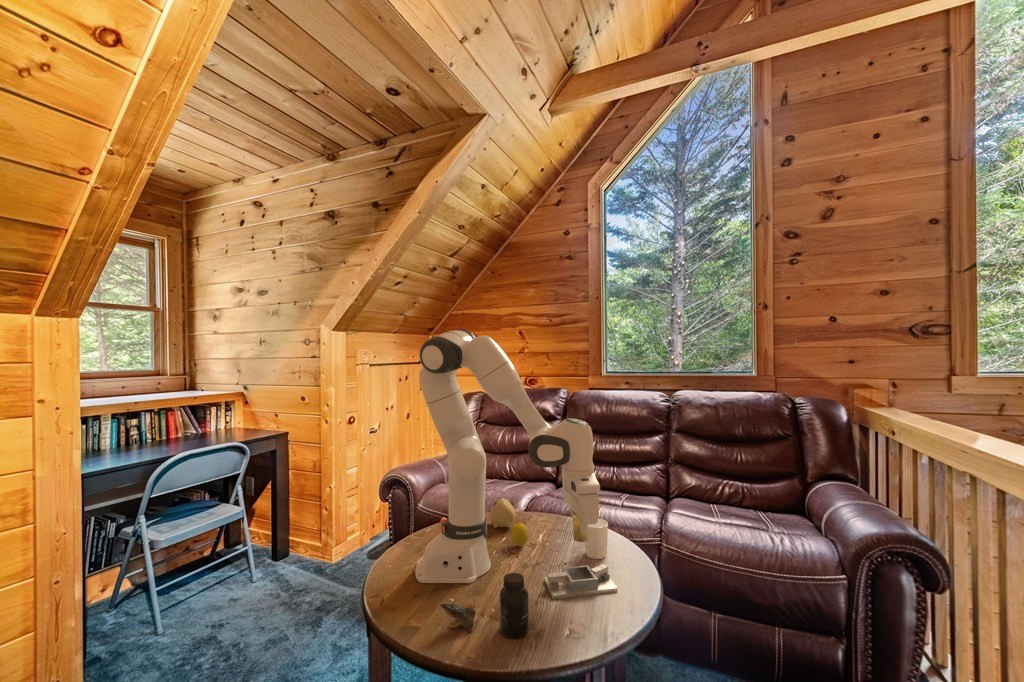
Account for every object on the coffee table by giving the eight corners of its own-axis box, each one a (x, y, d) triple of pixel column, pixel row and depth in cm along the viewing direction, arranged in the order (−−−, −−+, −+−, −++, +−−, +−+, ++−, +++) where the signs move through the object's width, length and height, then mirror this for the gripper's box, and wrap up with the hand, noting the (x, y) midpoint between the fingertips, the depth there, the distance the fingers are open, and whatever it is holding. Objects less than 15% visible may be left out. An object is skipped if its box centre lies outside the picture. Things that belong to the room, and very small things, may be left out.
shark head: (443, 641, 95) (440, 615, 94) (442, 619, 101) (439, 594, 100) (477, 633, 96) (475, 607, 95) (474, 612, 102) (472, 587, 101)
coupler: (576, 542, 113) (575, 515, 113) (571, 536, 116) (570, 510, 117) (590, 541, 113) (589, 514, 114) (584, 534, 117) (584, 508, 118)
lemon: (511, 542, 141) (511, 518, 142) (527, 542, 141) (527, 518, 141) (510, 550, 136) (510, 525, 136) (527, 550, 136) (527, 525, 136)
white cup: (610, 560, 129) (610, 527, 129) (585, 560, 129) (584, 527, 129) (605, 548, 136) (605, 517, 137) (581, 548, 137) (581, 517, 137)
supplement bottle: (530, 639, 94) (529, 584, 94) (500, 641, 93) (499, 586, 93) (527, 619, 100) (526, 569, 101) (498, 621, 100) (498, 570, 100)
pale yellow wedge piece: (517, 520, 160) (516, 492, 161) (515, 533, 148) (514, 503, 149) (491, 519, 161) (491, 492, 161) (488, 533, 149) (487, 503, 149)
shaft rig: (552, 599, 109) (552, 584, 109) (544, 580, 117) (544, 567, 118) (617, 591, 112) (617, 577, 112) (604, 574, 120) (604, 561, 121)
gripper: (556, 468, 125) (558, 514, 125) (579, 490, 105) (580, 545, 105) (577, 466, 126) (578, 512, 126) (602, 488, 106) (604, 542, 106)
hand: (579, 527), depth 115 cm, fingers closed on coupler, 4 cm apart
